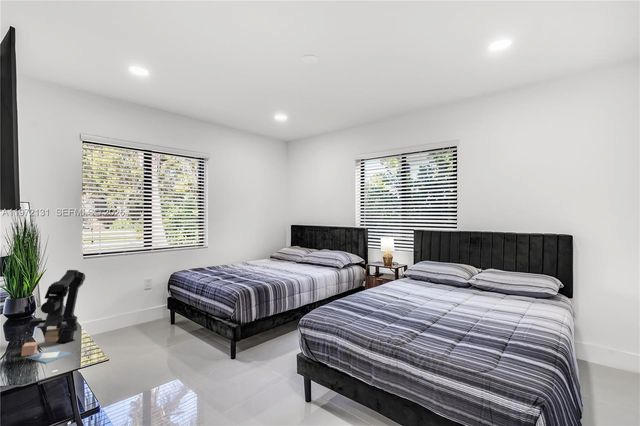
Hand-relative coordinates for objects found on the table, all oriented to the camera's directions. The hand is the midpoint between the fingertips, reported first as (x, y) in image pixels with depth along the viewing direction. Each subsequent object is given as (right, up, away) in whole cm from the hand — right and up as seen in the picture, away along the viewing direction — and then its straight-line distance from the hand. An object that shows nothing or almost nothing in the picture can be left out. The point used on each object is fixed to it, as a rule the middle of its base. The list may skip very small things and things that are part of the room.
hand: (52, 337), depth 161 cm
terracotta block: (-12, -8, 0) cm, 15 cm away
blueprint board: (-1, -9, -1) cm, 9 cm away
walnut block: (0, -1, 0) cm, 1 cm away
